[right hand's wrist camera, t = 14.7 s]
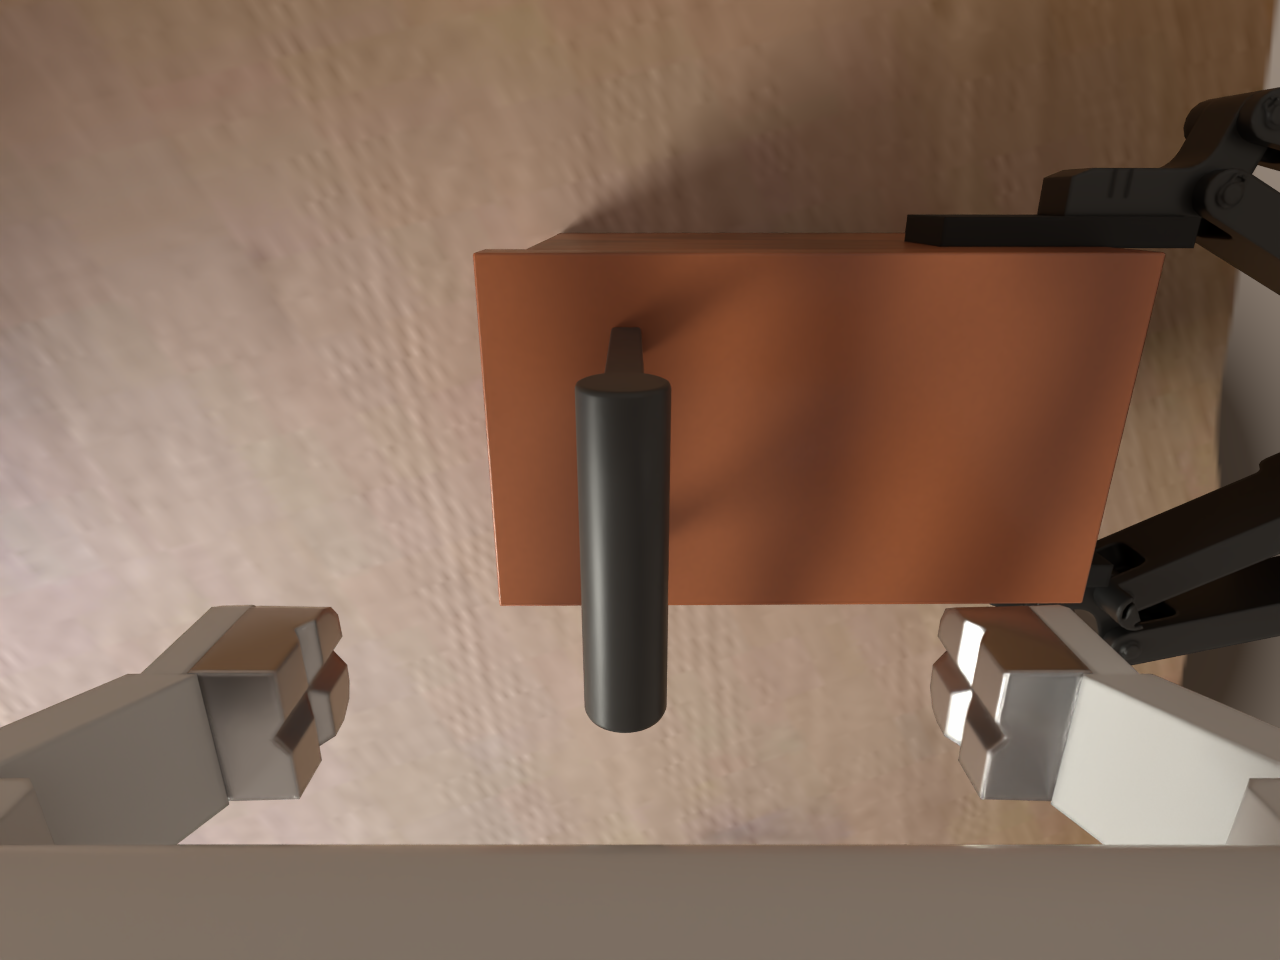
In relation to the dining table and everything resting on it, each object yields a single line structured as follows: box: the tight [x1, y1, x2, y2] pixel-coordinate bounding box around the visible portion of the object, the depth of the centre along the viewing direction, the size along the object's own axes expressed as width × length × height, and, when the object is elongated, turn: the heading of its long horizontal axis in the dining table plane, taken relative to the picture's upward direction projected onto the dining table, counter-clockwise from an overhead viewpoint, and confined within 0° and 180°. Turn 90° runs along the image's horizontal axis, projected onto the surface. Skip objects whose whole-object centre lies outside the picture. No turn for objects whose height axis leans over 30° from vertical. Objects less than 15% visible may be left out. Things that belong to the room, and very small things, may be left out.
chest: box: [528, 233, 1123, 249], centre depth 24 cm, size 15×9×9 cm, turn 90°
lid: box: [473, 249, 1165, 733], centre depth 16 cm, size 16×9×8 cm, turn 90°
